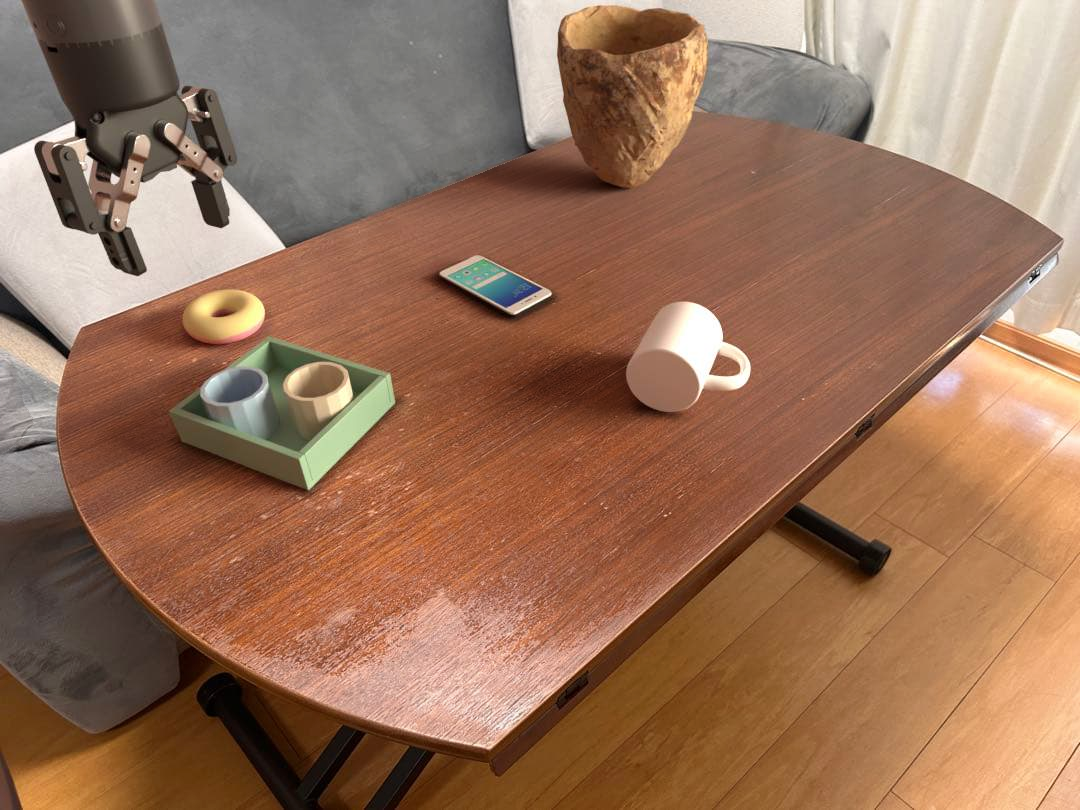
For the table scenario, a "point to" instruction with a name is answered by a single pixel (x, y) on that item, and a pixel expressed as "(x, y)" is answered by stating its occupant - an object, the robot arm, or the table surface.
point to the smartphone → (495, 286)
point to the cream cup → (316, 396)
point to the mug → (681, 359)
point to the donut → (214, 329)
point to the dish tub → (289, 418)
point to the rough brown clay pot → (629, 86)
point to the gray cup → (241, 401)
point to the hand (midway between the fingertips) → (178, 247)
